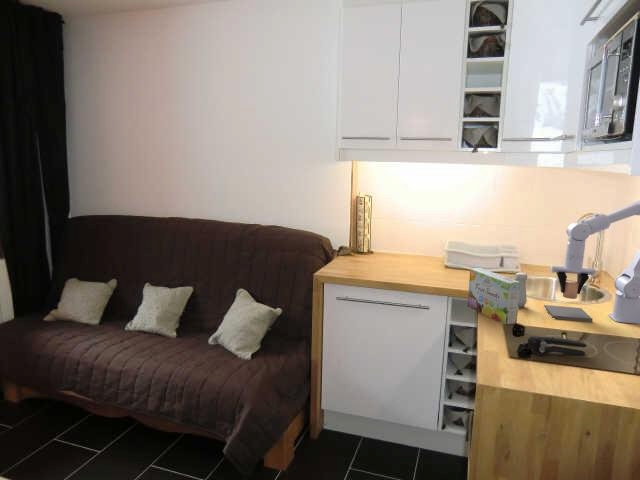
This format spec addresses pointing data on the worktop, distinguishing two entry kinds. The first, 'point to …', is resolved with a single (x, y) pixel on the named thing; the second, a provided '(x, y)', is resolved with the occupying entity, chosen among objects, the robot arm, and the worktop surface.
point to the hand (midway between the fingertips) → (570, 292)
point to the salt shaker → (522, 288)
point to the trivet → (568, 313)
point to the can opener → (541, 348)
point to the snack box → (494, 295)
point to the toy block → (571, 289)
